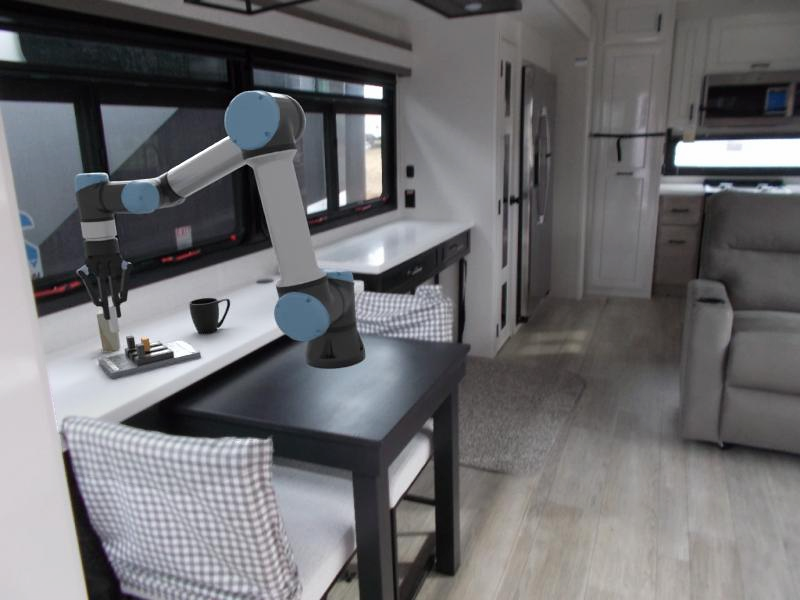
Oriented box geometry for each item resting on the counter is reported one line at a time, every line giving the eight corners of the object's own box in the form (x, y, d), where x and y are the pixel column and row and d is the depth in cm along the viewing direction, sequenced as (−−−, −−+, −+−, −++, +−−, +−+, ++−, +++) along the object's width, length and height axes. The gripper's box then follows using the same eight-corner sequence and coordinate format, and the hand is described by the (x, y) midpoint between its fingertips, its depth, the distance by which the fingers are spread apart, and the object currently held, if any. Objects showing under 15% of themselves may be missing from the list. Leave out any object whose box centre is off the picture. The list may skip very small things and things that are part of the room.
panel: (200, 357, 164) (197, 334, 162) (112, 378, 151) (108, 354, 149) (183, 345, 174) (180, 323, 173) (99, 364, 162) (94, 341, 160)
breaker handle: (150, 349, 161) (148, 338, 160) (144, 350, 160) (142, 339, 160) (148, 347, 163) (146, 336, 162) (142, 349, 162) (140, 338, 161)
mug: (237, 329, 188) (234, 298, 185) (198, 337, 181) (193, 306, 179) (228, 323, 194) (224, 294, 192) (189, 331, 188) (185, 301, 185)
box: (104, 347, 176) (97, 309, 173) (120, 345, 178) (114, 307, 175) (102, 352, 171) (96, 314, 169) (119, 350, 173) (113, 311, 170)
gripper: (124, 233, 157) (137, 322, 163) (67, 239, 149) (83, 333, 155) (132, 236, 151) (145, 328, 157) (74, 243, 144) (90, 340, 149)
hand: (114, 330), depth 156 cm, fingers closed
